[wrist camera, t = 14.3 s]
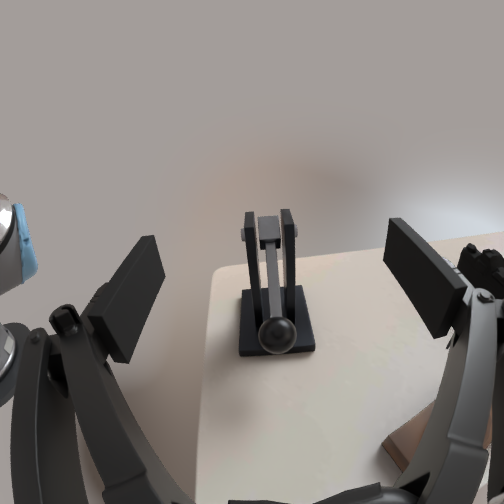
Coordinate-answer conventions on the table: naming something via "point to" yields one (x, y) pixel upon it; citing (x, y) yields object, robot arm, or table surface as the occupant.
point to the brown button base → (417, 437)
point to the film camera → (483, 269)
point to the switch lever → (274, 292)
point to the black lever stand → (257, 298)
